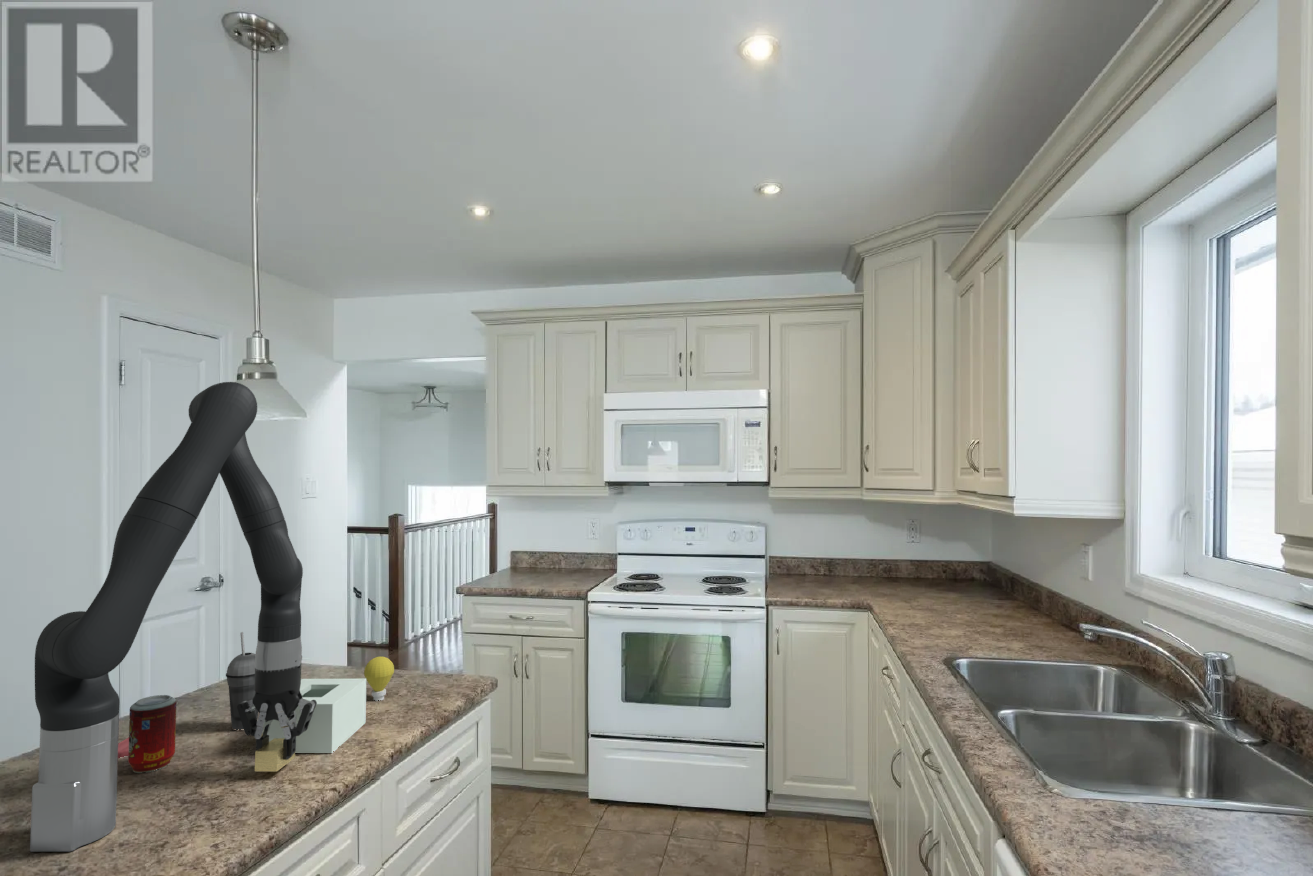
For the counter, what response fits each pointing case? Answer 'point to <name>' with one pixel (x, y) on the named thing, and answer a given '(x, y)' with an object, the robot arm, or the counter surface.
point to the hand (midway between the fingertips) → (275, 757)
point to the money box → (328, 714)
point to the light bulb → (378, 675)
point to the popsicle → (123, 748)
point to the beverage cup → (241, 683)
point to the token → (271, 756)
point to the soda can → (152, 733)
